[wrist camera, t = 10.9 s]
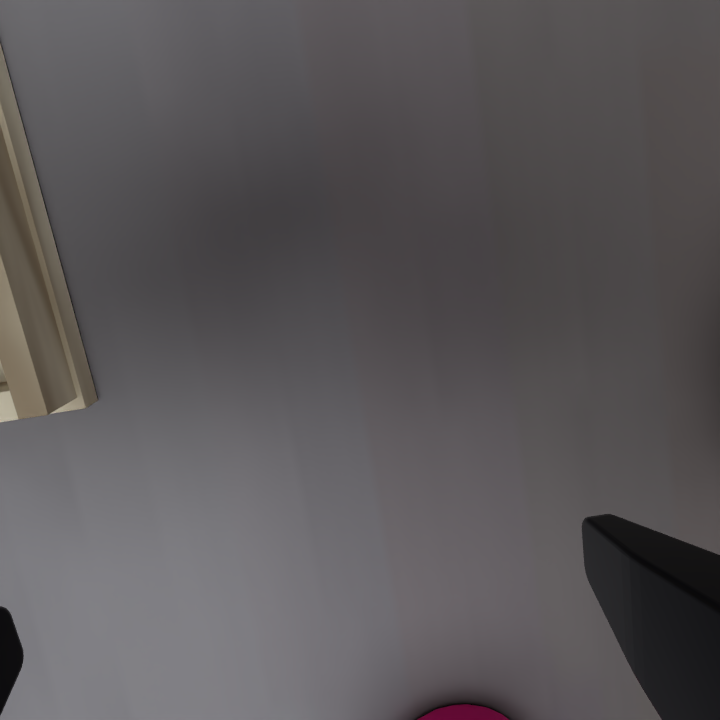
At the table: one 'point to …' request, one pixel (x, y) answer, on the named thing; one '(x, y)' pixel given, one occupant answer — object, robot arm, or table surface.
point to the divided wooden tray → (33, 289)
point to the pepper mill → (463, 713)
